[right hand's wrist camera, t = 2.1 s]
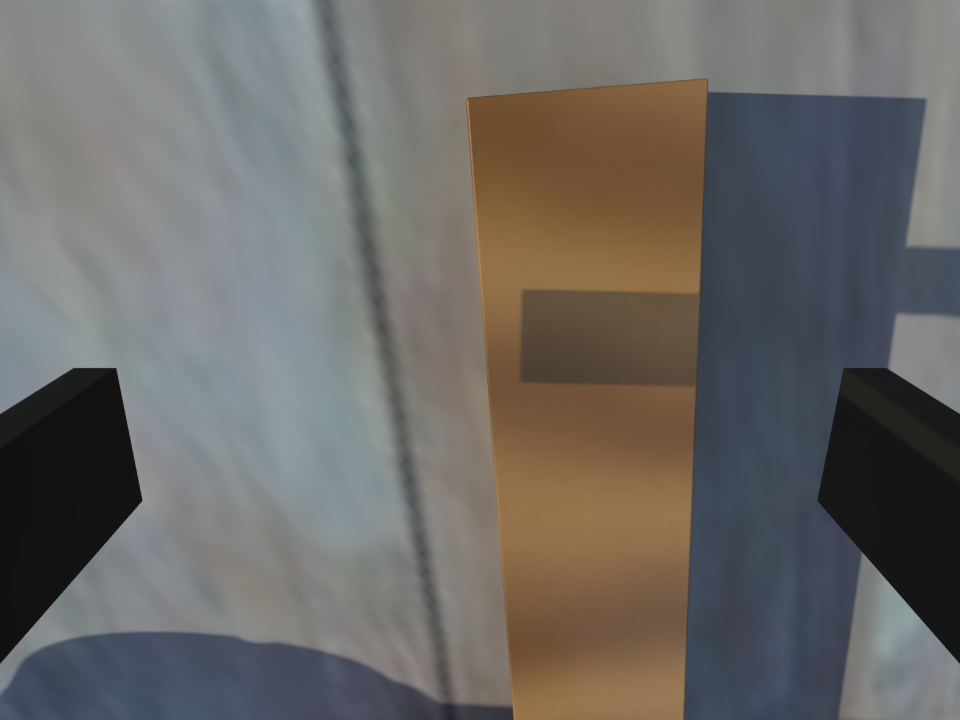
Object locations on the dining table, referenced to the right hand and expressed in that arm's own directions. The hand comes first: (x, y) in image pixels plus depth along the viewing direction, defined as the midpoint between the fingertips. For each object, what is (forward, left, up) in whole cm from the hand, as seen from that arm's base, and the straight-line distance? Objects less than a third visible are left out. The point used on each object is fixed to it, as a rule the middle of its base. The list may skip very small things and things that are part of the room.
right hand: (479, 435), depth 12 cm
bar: (+10, +23, -15) cm, 29 cm away
